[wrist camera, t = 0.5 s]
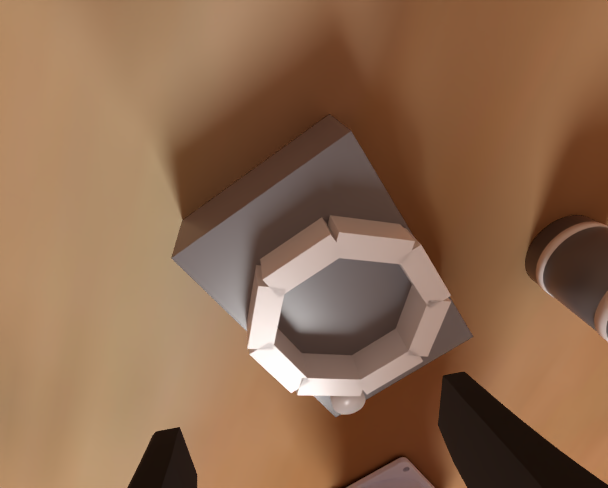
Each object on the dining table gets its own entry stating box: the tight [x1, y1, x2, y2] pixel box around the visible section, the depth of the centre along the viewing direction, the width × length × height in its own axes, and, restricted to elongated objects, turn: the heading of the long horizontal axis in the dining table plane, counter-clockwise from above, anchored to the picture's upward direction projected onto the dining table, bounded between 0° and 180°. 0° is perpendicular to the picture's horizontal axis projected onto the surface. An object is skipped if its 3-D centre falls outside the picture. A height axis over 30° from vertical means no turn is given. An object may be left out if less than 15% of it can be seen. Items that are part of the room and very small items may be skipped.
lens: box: [525, 215, 608, 341], centre depth 19 cm, size 4×4×6 cm
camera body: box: [172, 114, 473, 417], centre depth 18 cm, size 12×8×5 cm, turn 34°
